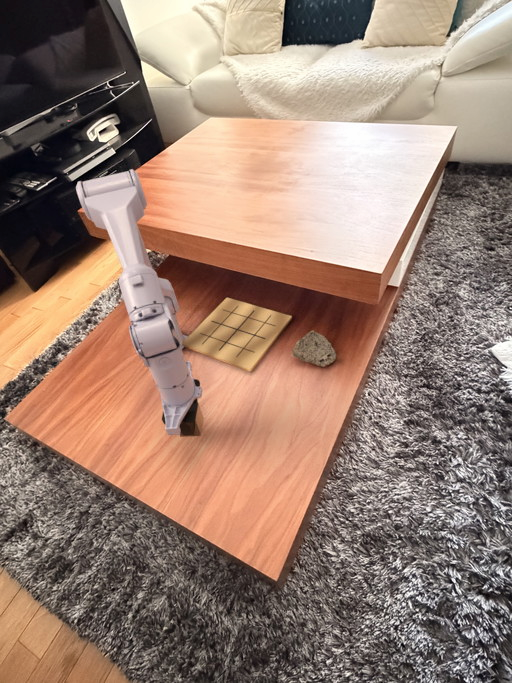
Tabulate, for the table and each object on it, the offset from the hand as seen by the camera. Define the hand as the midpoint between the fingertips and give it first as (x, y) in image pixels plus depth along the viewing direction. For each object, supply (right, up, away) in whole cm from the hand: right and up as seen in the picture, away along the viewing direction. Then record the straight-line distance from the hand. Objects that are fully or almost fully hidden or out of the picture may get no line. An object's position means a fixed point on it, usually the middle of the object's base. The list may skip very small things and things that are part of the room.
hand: (190, 423), depth 72 cm
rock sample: (+26, +12, +15) cm, 33 cm away
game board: (+8, +18, +24) cm, 31 cm away
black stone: (0, -1, +1) cm, 1 cm away
